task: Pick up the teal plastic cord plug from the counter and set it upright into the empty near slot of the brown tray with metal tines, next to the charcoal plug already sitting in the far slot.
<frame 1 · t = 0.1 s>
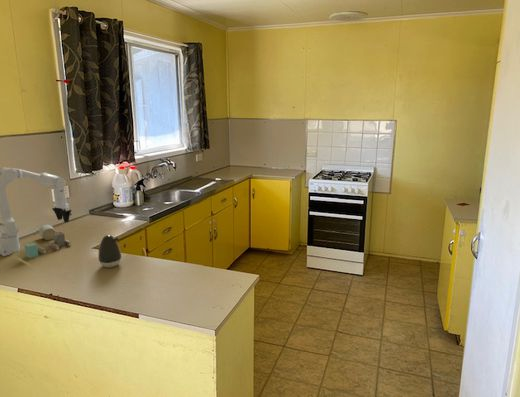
hand: (63, 220, 221), 10 cm above the worktop, tool pointing down, fingers open, 7 cm apart
grey plug: (60, 246, 208), point 1 cm above the worktop, touching brown tray
dark grey egg shape: (111, 265, 186), on the worktop
teal plug: (32, 257, 195), on the worktop
brown tray: (54, 249, 206), on the worktop
ceramic mug: (51, 238, 223), on the worktop
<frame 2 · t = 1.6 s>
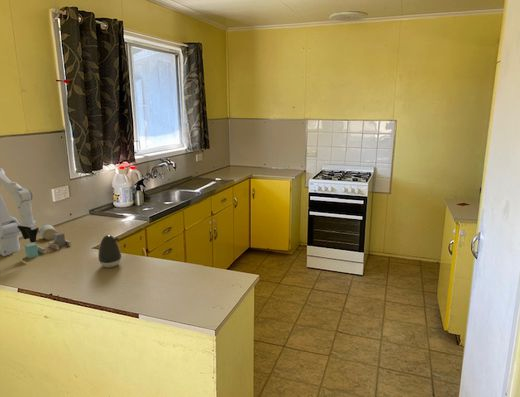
hand: (29, 240, 193), 9 cm above the worktop, tool pointing down, fingers open, 7 cm apart
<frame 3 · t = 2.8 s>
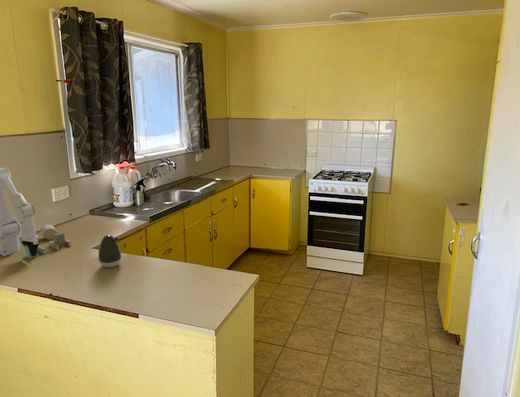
hand: (32, 254, 195), 2 cm above the worktop, tool pointing down, fingers closed on teal plug, 4 cm apart
teal plug: (32, 257, 195), on the worktop, touching gripper
everything else where it was.
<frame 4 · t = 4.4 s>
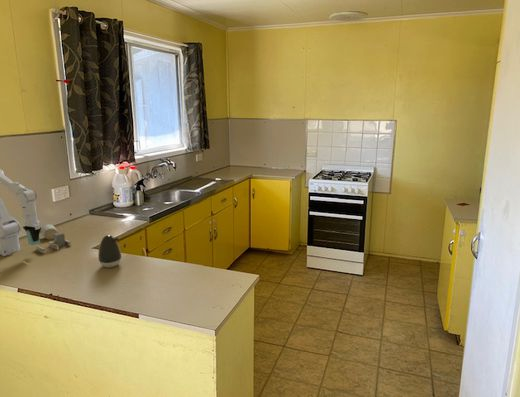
hand: (34, 240, 195), 9 cm above the worktop, tool pointing down, fingers closed on teal plug, 4 cm apart
teal plug: (34, 243, 195), point 7 cm above the worktop, touching gripper
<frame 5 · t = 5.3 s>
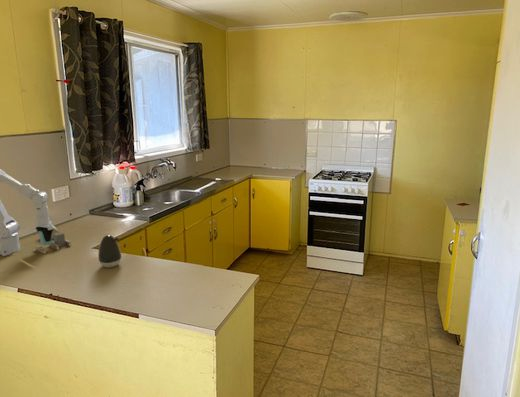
hand: (46, 240, 202), 6 cm above the worktop, tool pointing down, fingers closed on teal plug, 4 cm apart
teal plug: (46, 243, 202), point 4 cm above the worktop, touching gripper
when the fingers open (4 cm above the worktop, at t = 6.0 s): teal plug drops 2 cm, resting on brown tray.
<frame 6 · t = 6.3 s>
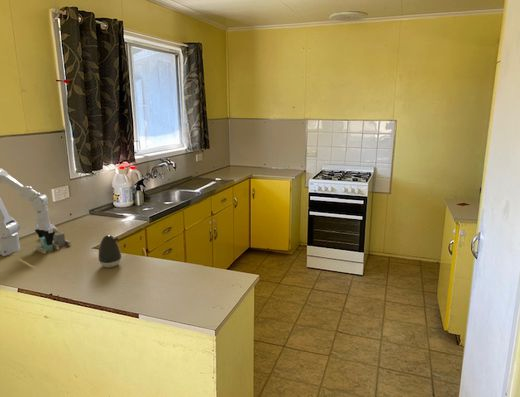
hand: (46, 243, 202), 4 cm above the worktop, tool pointing down, fingers open, 7 cm apart
teal plug: (47, 249, 203), point 1 cm above the worktop, touching brown tray
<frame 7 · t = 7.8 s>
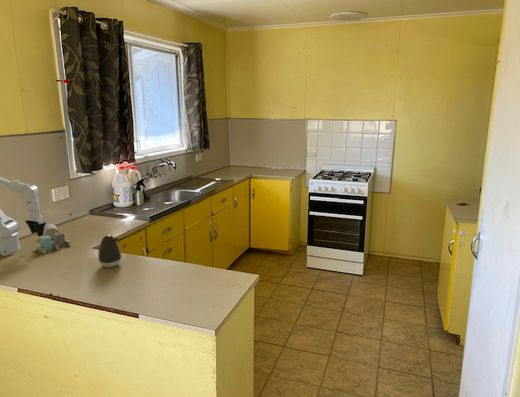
hand: (37, 234, 201), 9 cm above the worktop, tool pointing down, fingers open, 7 cm apart
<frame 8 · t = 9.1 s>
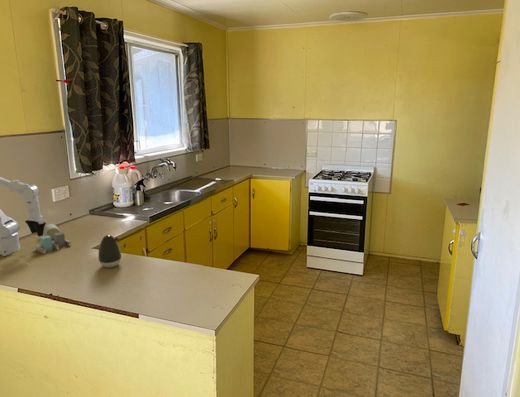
hand: (37, 234, 201), 9 cm above the worktop, tool pointing down, fingers open, 7 cm apart
at the end: teal plug 0.2 cm from the target spot on the brown tray, point 0.8 cm above the brown tray's base; teal plug tilted 0°; the gripper is holding nothing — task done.
